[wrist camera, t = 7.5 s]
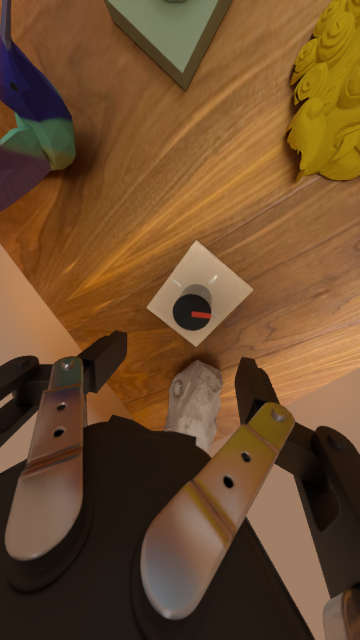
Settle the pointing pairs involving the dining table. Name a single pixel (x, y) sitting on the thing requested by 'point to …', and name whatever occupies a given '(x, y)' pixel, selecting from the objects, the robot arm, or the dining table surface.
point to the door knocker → (329, 95)
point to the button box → (171, 30)
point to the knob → (193, 308)
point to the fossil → (195, 403)
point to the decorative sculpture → (29, 121)
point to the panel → (205, 272)
